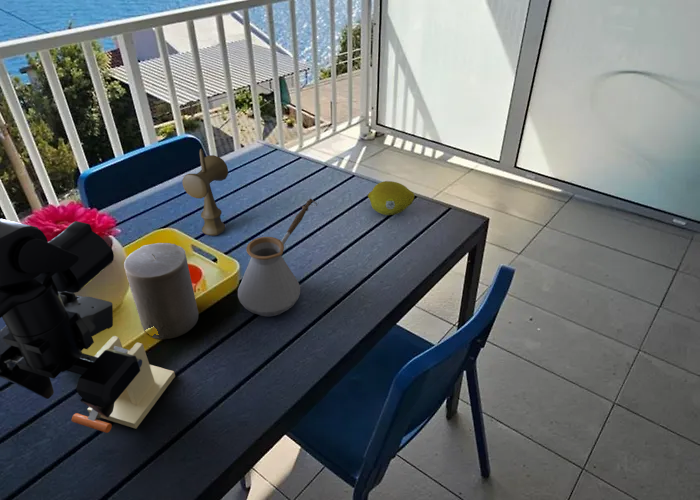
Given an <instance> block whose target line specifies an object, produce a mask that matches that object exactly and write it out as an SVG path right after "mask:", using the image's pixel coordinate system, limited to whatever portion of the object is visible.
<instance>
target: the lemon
mask: <svg viewBox="0 0 700 500" xmlns="http://www.w3.org/2000/svg"><path fill="white" fill-rule="evenodd" d="M367 198H368V199H369V202H370V206H371V207H372V209H373V210H374V211H375V212H377V213H378V214H381V215H383V216H395V215H398V214H401V213H402V212H403V211H405V210H406V209H407V208H408V207H410V206H411V205H412V204H413V202H414V201H415V200H414V199H415V193H414V192H413V191H412V190H410V188H408V187H407V186H406V185H404V184H402V183H399V182H397V181H391V180H385V181H381V182H379V183H377V184H375V186H374V187H373V188H372V190H371V191H370V192H369V193H368V194H367Z"/></svg>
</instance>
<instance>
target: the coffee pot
mask: <svg viewBox="0 0 700 500" xmlns="http://www.w3.org/2000/svg"><path fill="white" fill-rule="evenodd" d="M312 202H313V203H314V204H315V205H313V204H312ZM310 206H311V207H318V203H317V202H316V201H315V200H313V199H312V198H309V199H308V198H307V199H306V204H305V205H302V207H301V208H302V209H301V210H300V211H299V212H298V213H297V214H296V216H295V217H294V219H293V220H292V222H291V224H290V225H289V227H288V229H287V231H286V233H285V234H284V235H283V237H282V239H279V238H276V237H274V236H261V237H257V238H254V239H253V240H251V241H250V242H249V243H248V244H247V245H246V250H245V251H246V253H247V254H248V256H249V257H250V259H249V261H248V264H247V265H246V269H245V271H244V274H243V277H242V278H241V282H240V284H239V286H238V288H237V299H238V301H239V303H240V304H241V306H243V308H244V309H246V311H249V312H250V313H251V314H254V315H255V314H256V315H258V316H261V317H274V316H279V315H281V314H282V313H283V314H284V312H286V311H288V310H290V309H291V308H292V307H293V306H295V304H296V303H297V301H298V300H299V298H300V294H301V285H300V282H298V279H297V278H296V276H295V275H294V273H293V272H292V269H290V266H289V265H288V264H287V262H286V261H285V259H284V257H283V253H284V249H285V246H284V245H285V244H286V242H287V240H288V239H289V238H290V236H291V235H292V233H293V232H294V231H295V230H296V228H297V227H298V226H299V224H300V223H301V221H302V220H303V219H304V216H305V214H306V212H308V211H309V207H310Z"/></svg>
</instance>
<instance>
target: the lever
mask: <svg viewBox="0 0 700 500" xmlns="http://www.w3.org/2000/svg"><path fill="white" fill-rule="evenodd" d="M113 350H115V351H119V352H123V353H126V354H127V353H128V352H129V351H130V350H131V349H128V348H124V347H123V348H121V347H117V346H114V349H113ZM100 417H101V414H99V413H98V412H96V411H95V410H93V409H92V410H91V413H90V414H89V415H84V414H81V413H78V412H75V413H74V414H73V415H72V417H71V422H72V423H75V424H78V425H81V426H84V427H87V428H90V429H93V430H97V431H100V432H103V433H105V434H107V433H110V431H112V427H113V425H112V423H111V422H106V421H103V420H100V419H101V418H100Z"/></svg>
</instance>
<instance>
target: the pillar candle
mask: <svg viewBox="0 0 700 500" xmlns="http://www.w3.org/2000/svg"><path fill="white" fill-rule="evenodd" d="M123 266H124V272H125V275H126V278H127V281H128V285H129V287H130V292H131V294H132V298H133V301H134V304H135V305H134V306H135V308H136V311H137V314H138V317H139V321H140V325H141V327H142V329H143V331H144V332H145V330H146V329H148V328H151V327H153V326H154V327H155V328H156V329H157V331H158V334H159V335H156V334H154V335H153V336H152V337H151V338H152V339H153V338H154V339H158V340H170V339H175V338H179V337H180V336H183V335H185V334H186V333H188V332H189V331H191V330H192V329H193V328H194V327H195V326H196V325H197V323H198V320H199V309H198V304H197V300H196V295H195V291H194V287H193V282H192V278H191V273H190V272H191V271H190V268H189V264H188V258H187V254H186V250H185V249H184V248H183V247H182V246H180V245H177V244H175V243H170V242H157V243H151V244H144V245H142V246H140V248H139V247H138V248H137V249H135V250H133V251H132V252H131V253H129V255H128V256H127V257H126V258H125V260H124V263H123Z"/></svg>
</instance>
